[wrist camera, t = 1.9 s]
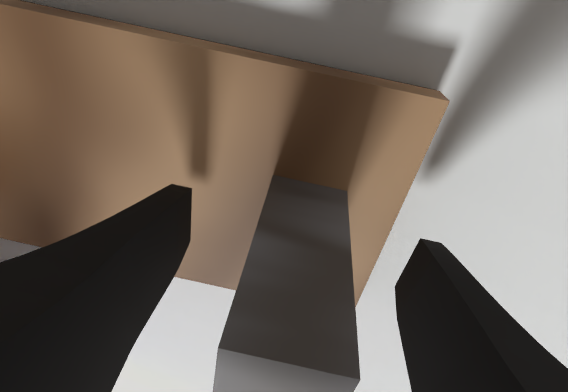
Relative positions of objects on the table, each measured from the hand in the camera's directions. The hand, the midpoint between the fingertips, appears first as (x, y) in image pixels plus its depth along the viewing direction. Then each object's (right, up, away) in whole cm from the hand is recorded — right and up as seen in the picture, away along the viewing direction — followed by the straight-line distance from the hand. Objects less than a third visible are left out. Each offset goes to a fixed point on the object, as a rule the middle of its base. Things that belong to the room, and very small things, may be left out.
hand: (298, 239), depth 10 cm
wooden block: (-8, +3, +2) cm, 9 cm away
